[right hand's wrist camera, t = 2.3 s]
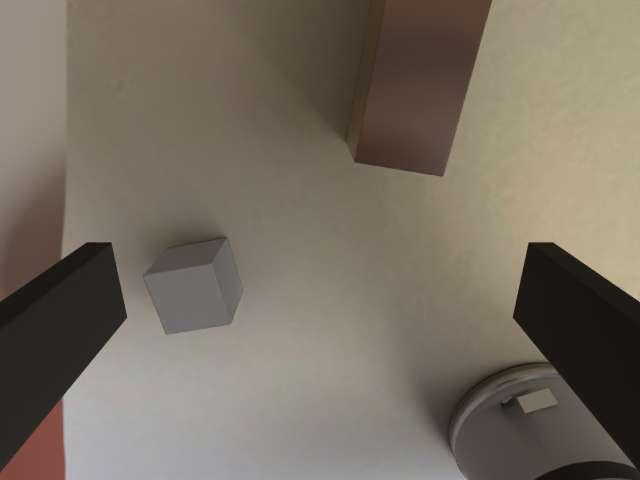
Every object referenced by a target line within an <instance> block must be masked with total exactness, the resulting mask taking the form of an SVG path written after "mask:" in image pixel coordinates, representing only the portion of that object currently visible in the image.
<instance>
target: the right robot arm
mask: <svg viewBox="0 0 640 480" xmlns="http://www.w3.org/2000/svg"><path fill="white" fill-rule="evenodd" d="M126 318H127V314H126V309H125V305H124V300H123V295H122V290H121V286H120V281H119V276H118V272H117V267H116V262H115V258H114V253H113V248H112V243H111V242H87V243H85V244H84V245H83V246H81V247H80V248H78V249H77V250H75V251H74V252H72V253H71V254H69V255H68V256H67V257H65V258H64V259H62V260H61V261H59V262H58V263H56V264H55V265H53V266H52V267H51V268H49V269H48V270H46V271H45V272H43V273H42V274H40V275H39V276H37V277H36V278H35V279H33V280H32V281H30V282H29V283H27V284H26V285H24V286H23V287H21V288H20V289H19V290H17V291H16V292H14V293H13V294H11V295H10V296H8V297H7V298H5V299H4V300H3V301H1V302H0V472H1V471H2V470H3V468H4V467H5V466H6V465H7V464H8V462H9V461H10V460H11V459H12V457H13V456H14V455H15V454H16V453H17V451H18V450H19V449H20V448H21V446H22V445H23V444H24V443H25V442H26V440H27V439H28V438H29V437H30V436H31V434H32V433H33V432H34V431H35V429H36V428H37V427H38V426H39V425H40V423H41V422H42V421H43V420H44V418H45V417H46V416H47V415H48V414H49V412H50V411H51V410H52V409H53V407H54V406H55V405H56V404H57V403H58V401H59V400H60V399H61V398H62V396H63V395H64V394H65V393H66V392H67V390H68V389H69V388H70V387H71V385H72V384H73V383H74V382H75V381H76V379H77V378H78V377H79V376H80V374H81V373H82V372H83V371H84V370H85V368H86V367H87V366H88V365H89V364H90V362H91V361H92V360H93V359H94V357H95V356H96V355H97V354H98V353H99V351H100V350H101V349H102V348H103V346H104V345H105V344H106V343H107V342H108V340H109V339H110V338H111V337H112V335H113V334H114V333H115V332H116V331H117V329H118V328H119V327H120V326H121V324H122V323H123V322H124V321H125V320H126ZM513 318H514V320H515V321H516V322H517V323H518V324H519V326H520V327H521V328H522V329H523V331H524V332H525V333H526V334H527V335H528V337H529V338H530V339H531V340H532V342H533V343H534V344H535V345H536V346H537V348H538V349H539V350H540V351H541V353H542V354H543V355H544V356H545V357H546V359H547V360H548V361H549V362H550V364H529V365H523V366H518V367H514V368H511V369H508V370H505V371H502V372H500V373H498V374H495V375H493V376H491V377H490V378H488V379H486V380H484V381H483V382H481V383H480V384H478V385H477V386H476V387H475V388H473V389H472V390H471V391H470V392H469V393H468V394H467V395H466V396H465V397H464V398H463V399H462V401H461V402H460V403H459V405H458V406H457V408H456V410H455V412H454V414H453V416H452V419H451V422H450V427H449V441H450V445H451V448H452V451H453V454H454V457H455V459H456V462H457V465H458V467H459V469H460V471H461V472H462V473H463V475H464V476H465V477H466V478H467V480H640V302H639V301H637V300H636V299H635V298H633V297H632V296H630V295H629V294H627V293H626V292H624V291H623V290H621V289H620V288H619V287H617V286H616V285H614V284H613V283H611V282H610V281H608V280H607V279H605V278H604V277H603V276H601V275H600V274H598V273H597V272H595V271H594V270H592V269H591V268H589V267H588V266H587V265H585V264H584V263H582V262H581V261H579V260H578V259H576V258H575V257H573V256H572V255H571V254H569V253H568V252H566V251H565V250H563V249H562V248H560V247H559V246H557V245H556V244H555V243H553V242H529V243H528V248H527V253H526V258H525V262H524V267H523V272H522V276H521V281H520V286H519V290H518V295H517V300H516V305H515V309H514V314H513Z"/></svg>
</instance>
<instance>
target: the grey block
mask: <svg viewBox="0 0 640 480" xmlns="http://www.w3.org/2000/svg"><path fill="white" fill-rule="evenodd" d="M143 278H144V281H145V283H146V286H147V288H148V291H149V293H150V296H151V298H152V301H153V303H154V306H155V308H156V311H157V313H158V316H159V318H160V321H161V323H162V326H163V328H164V331H165V333H166V335H168V334H174V333H180V332H186V331H192V330H198V329H204V328H210V327H216V326H222V325H228V324H231V322H232V319H233V317H234V314H235V311H236V309H237V306H238V303H239V301H240V298H241V295H242V293H243V289H242V285H241V282H240V279H239V275H238V272H237V269H236V265H235V262H234V259H233V255H232V252H231V249H230V245H229V242H228V239H227V238H221V239H216V240H210V241H205V242H199V243H194V244H188V245H183V246H177V247H172V248H168V249H167V250H166V251H165V252H164V253H163V254H162V255H161V256H160V258H159V259H158V260H157V261H156V262H155V263H154V264H153V265H152V266H151V267H150V268H149V269H148V270H147V272H146V273H145V274H144V275H143Z"/></svg>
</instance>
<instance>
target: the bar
mask: <svg viewBox="0 0 640 480" xmlns="http://www.w3.org/2000/svg"><path fill="white" fill-rule="evenodd" d="M491 3H492V0H371V4H370V10H369V15H368V21H367V27H366V32H365V38H364V43H363V49H362V54H361V60H360V65H359V71H358V77H357V82H356V88H355V93H354V99H353V104H352V110H351V115H350V121H349V127H348V132H347V138H346V144H347V146H348V148H349V150H350V153H351V155H352V157H353V159H354V162H355V163H361V164H367V165H374V166H380V167H386V168H392V169H398V170H405V171H411V172H417V173H423V174H429V175H436V176H443V175H444V172H445V168H446V165H447V161H448V157H449V154H450V150H451V147H452V143H453V139H454V136H455V132H456V129H457V125H458V121H459V118H460V114H461V111H462V107H463V103H464V100H465V96H466V93H467V89H468V85H469V82H470V78H471V75H472V71H473V67H474V64H475V60H476V57H477V53H478V49H479V46H480V42H481V39H482V35H483V31H484V28H485V24H486V21H487V17H488V13H489V10H490V6H491Z"/></svg>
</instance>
